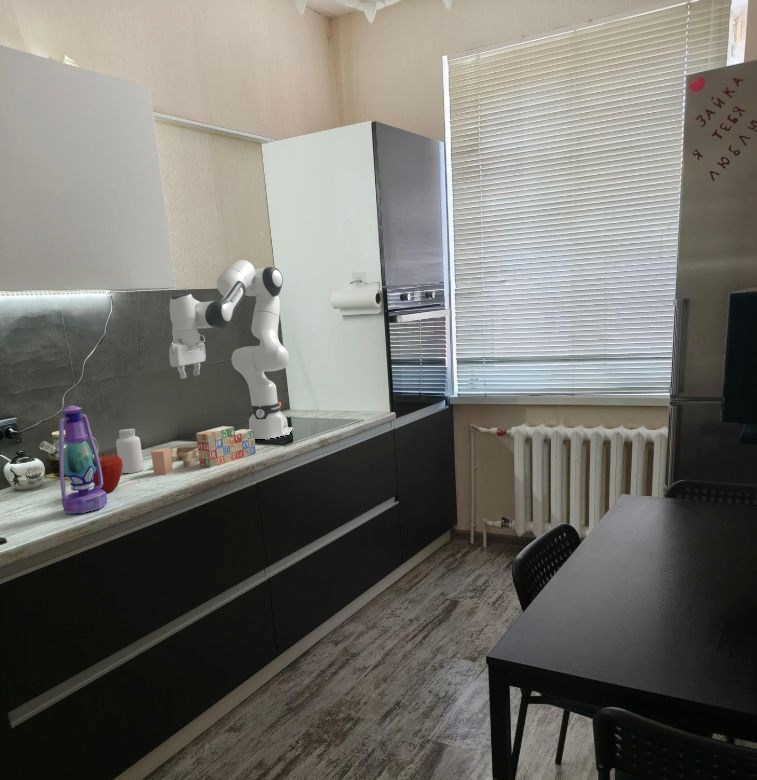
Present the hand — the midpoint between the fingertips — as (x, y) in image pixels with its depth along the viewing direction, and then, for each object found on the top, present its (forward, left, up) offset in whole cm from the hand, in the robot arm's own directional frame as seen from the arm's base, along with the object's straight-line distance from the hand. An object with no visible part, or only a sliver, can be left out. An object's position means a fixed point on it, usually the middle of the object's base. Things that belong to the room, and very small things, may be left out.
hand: (190, 376), depth 222 cm
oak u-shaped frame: (+4, -5, -31) cm, 32 cm away
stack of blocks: (+1, +12, -32) cm, 34 cm away
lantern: (+55, -7, -31) cm, 64 cm away
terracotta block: (+17, -5, -31) cm, 36 cm away
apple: (+38, -12, -31) cm, 51 cm away
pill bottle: (+14, -19, -31) cm, 39 cm away
